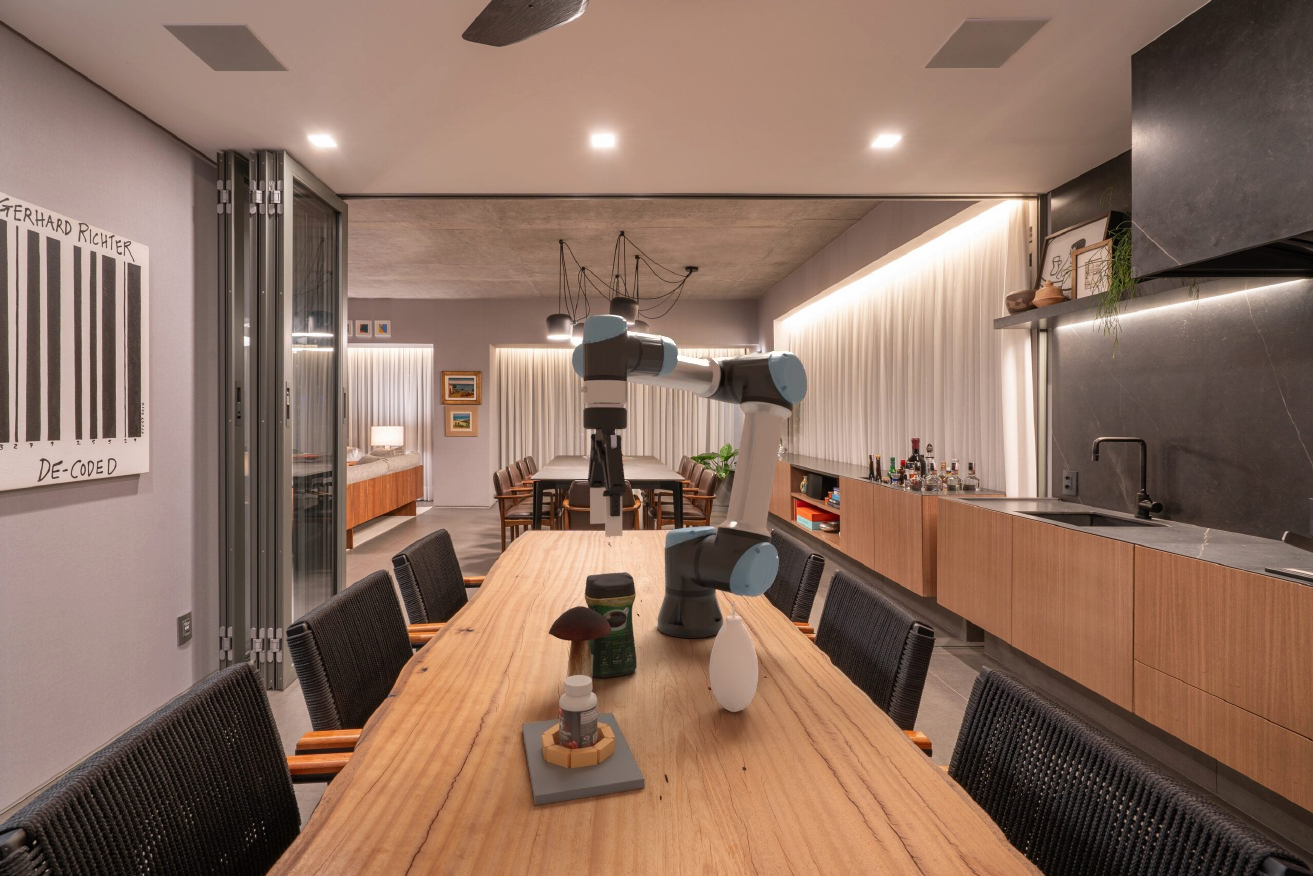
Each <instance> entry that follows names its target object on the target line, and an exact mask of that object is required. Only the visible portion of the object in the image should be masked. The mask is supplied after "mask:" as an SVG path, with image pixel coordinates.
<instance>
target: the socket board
mask: <svg viewBox="0 0 1313 876" xmlns="http://www.w3.org/2000/svg"><path fill="white" fill-rule="evenodd" d="M615 717H616V716H615V715H614V713H613V712H612V711H610V712H609V711H608V712H603V713H601V712H600V713H597V744H596V745H594V746H593V747H586V748H579V749H568V748H565V747H562V746H559V718H556V719H555V718H554V719H547V720H546V719H545V720H539V721H532V722H524V723H521V727H522V728H521V729H522V730H521V732H522V736H523V737H522V738H523V743H524V748H525V749H524V750H525V755H526V761H527V765H528V772H529V778H530V785H531V789H532V790H531V791H532V795H533V802H534V806H539V805H546V804H552V803H560V802H564V801H571V800H577V799H583V798H588V797H589V798H590V797H595V796H602V795H607V794H608V795H609V794H614V793H615V794H616V793H621V792H626V791H632V790H633V791H634V790H638V789H639V790H640V789H645V788H646V787H645V786H646V785H645V781H646V779H645V776H644V774H643V772H642V770H641V769H640V766H639V764H638V763H637V760H636V758H635V756H634V754H633V751H632V750H631V748H630V746H629V744H628V742H627V739H626V738H625V736H624V734H623V732H622V730H621V727H620V725H619V723H618V722H617V720H616V718H615Z"/></svg>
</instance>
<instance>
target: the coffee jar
mask: <svg viewBox="0 0 1313 876" xmlns="http://www.w3.org/2000/svg"><path fill="white" fill-rule="evenodd" d="M584 589H585V590H584V601H585V603H586V605H587V608H589V609H592V610H594V611H596V612H598V613H599V614H601V615H602V616H604V617H605V618H606V619H607V621H608V623H609V625H610V626H611V629H612V631H611V633H610V634H609V635H606V636H604V637H601V638H598V639H593V640H589V646H590V652H591V659H592V677H595V678H610V677H620V676H624V675H629V674H630V675H631V674H632V673H634V672H635V671H636V669H637V665H638V664H637V663H638V662H637V661H638V660H637V652H636V643H635V634H634V625H633V605H634V603H635V600H636V597H637V596H636V595H637V592H636V587H635V581H634V578H633V576H632V574H630V573H629V572H627V571H624V572H612V573H609V572H608V573H599V574H590V575H587V577H586V580H585V588H584Z"/></svg>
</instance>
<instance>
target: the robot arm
mask: <svg viewBox="0 0 1313 876" xmlns="http://www.w3.org/2000/svg"><path fill="white" fill-rule="evenodd" d="M571 356H572V357H571V364H572V368H573V370H574V372H575V373H576V375H577V376H579V377H580V378H581V379H583V386H580V388H579V391H580V392H581V393H583V404H584V405H586V407H584V409H583V411H582V412H583V417H582V419H583V421H582V423H583V424H582V425H583V428H584V429H585V430H595V433H591V435H590V452H589V453H590V454H589V463H588V464H589V466H588V475H587V482H588V483H589V484H588V485H589V486H590V487H589V492H590V493H589V497H590V498H589V500H590V501H589V503H590V504H589V506H590V507H589V512H590V513H589V514H590V515H589V516H590V517H589V524H590V525H594V524H595V525H601V524H604V530H605V531H604V532H605V533H604V536H605V537H607V538H608V537H622V536H623V496H624V494H626V492H627V488H626V480H625V472H624V471H625V470H624V469H625V468H624V463H623V453H622V436H621V434H616V430H626V429H627V427H628V410H627V408H626V407H625V405H627V404H628V383H630V384H631V383H632V384H638V385H644V386H645V385H646V386H652V387H658V388H664V389H673V390H678V391H686V392H691V393H692V394H693V395H695V396H696V397H698V398H702V399H709V400H713V401H717V402H721V403H727V404H732V405H739V408H740V410H741V411H742V412H743V414H744V419H743V423H742V424H743V425H742V431H741V436H740V442H739V446H738V447H739V448H738V454H737V460H736V466H735V471H734V476H733V481H732V487H731V492H730V493H731V494H730V497H729V498H730V499H729V505H728V510H727V514H726V519H725V520H724V521H723V522H722V523H720V524H719V525H718V526H717V529H716V527H715V526H707V525H705V526H692V527H691V526H690V527H682V528H677V529H672V530H670V531H668V532H667V533H666V535H665V544H664V581H665V583H664V584H665V585H664V587H665V588H664V589H665V590H664V591H665V592H664V597H663V600H662V602H661V607H660V609H659V613H658V616H657V629H658V631H659V632H661V634H664V635H667V636H670V637H675V638H683V639H702V638H708V637H713V636H717V634H718V632H719V630H720V629H721V627H722V626H723V624H724V616H723V613H722V610H721V608H720V604H719V601H718V598H717V592H716V591H721V592H725V593H729V594H734V595H735V596H738V597H739V596H740V597H743V596H744V597H751V598H756V597H759V596H761V595H763V594H764V593H765V592H766V591H767V590H769V589H770V588H771V586H772V585H773V583H774V581H775V580H776V578H777V577H776V576H777V575H778V570H779V564H780V563H779V562H780V558H779V556H778V555H779V554H778V550H777V548H776V547H775V545H773V544H771V542H772V535H771V533H770V531H769V530H768V529H767V522H768V516H769V511H770V505H771V497H772V492H773V485H774V480H775V474H776V468H777V462H778V461H777V460H778V454H779V450H780V445H781V444H780V443H781V437H782V431H783V426H784V422H785V421H786V420H787V419H789V418H790V417H791V416H792V413H793V408H794V405H798V404H800V403H801V402H802V401H803V399H805V397H806V395H807V391H808V378H807V373H806V370H805V367H804V364H803V362H802V361H801V360H800V358H799V357H798V356H797V355H796V354H794V352H790V351H778V350H773V351H771V352H760V353H758V352H757V353H749V354H737V355H736V354H735V355H730V356H722V357H720V356H719V357H713V356H708V355H706V356H701V357H699V358H695V357H689V356H685V355H680V354H679V350H678V347H677V345H676V343H675V342H674V340H673V339H671V338H670V337H667V336H663V335H660V334H650V333H643V332H637V331H636V332H634V331H630V330H629V327H628V322H627V319H626V318H625V317H623V316H620V315H615V314H596V315H595V314H594V315H591V316H588V317H587V318H586V319H585V320H584V322H583V332H582V341H581V343H580V344H578V345H577V346H576V347H575V348H574V350H573V352H572V355H571Z"/></svg>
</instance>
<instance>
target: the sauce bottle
mask: <svg viewBox="0 0 1313 876" xmlns="http://www.w3.org/2000/svg"><path fill="white" fill-rule="evenodd" d="M731 613H732V614H731V615H727V616H725V622H723V626H722V627H721V629H720V630H719V632H718V634H717V635H716V637H715V638H714V642H713V645H712V650H711V652H710V658H709V666H708V667H709V670H708V671H709V673H708V674H709V682H710V686H711V690H712V693H713V695H714V697H715V700H716V701H717V702H718V704H720V705H722V707H723V709H725V710H727V711H729V712H730V713H738V712H740V711H742V710H744V709H745V707H747V706H749V705H750V704H751V702H752V700H753V699H754V697H755V695H756V692H757V688H758V684H759V683H758V682H759V681H758V680H759V663H758V655H757V652H756V647H755V644H754V642H753V639H752V637H751V634H750V633H749V631H748V629H747V627H746V626H745V625H744V623H743V618H742V616H739V615H737V614H736V601H735V600H734V601H733V602H732V612H731Z"/></svg>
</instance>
